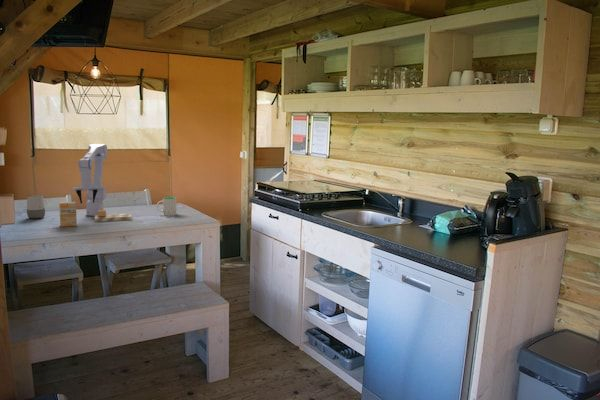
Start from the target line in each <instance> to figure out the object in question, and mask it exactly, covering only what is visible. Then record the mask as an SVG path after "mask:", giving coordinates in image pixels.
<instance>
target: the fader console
mask: <svg viewBox="0 0 600 400" xmlns="http://www.w3.org/2000/svg"><path fill="white" fill-rule="evenodd" d="M132 219H133V218H132V214H131V213H115V214H106V216H98V215H95V216H94V222H95V223H99V222H101V221H102V222H118V221H132ZM102 222H101V223H102Z"/></svg>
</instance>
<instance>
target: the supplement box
mask: <svg viewBox="0 0 600 400" xmlns="http://www.w3.org/2000/svg"><path fill="white" fill-rule="evenodd" d="M58 204H59V205H58V206H59V224H60V227H73V226H74V227H77V226H78V222H77V221H78V219H77V218H78V217H77V202H76V201H59V203H58Z"/></svg>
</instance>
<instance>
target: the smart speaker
mask: <svg viewBox="0 0 600 400" xmlns="http://www.w3.org/2000/svg"><path fill="white" fill-rule="evenodd" d="M45 207H46V205H45V201H44V195H43V194H39V195H33V196H28V197H27V198H26V215H27V217H28V218H29V219H30V220H39V219H43V218H45V216H46V208H45Z"/></svg>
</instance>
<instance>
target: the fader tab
mask: <svg viewBox="0 0 600 400" xmlns="http://www.w3.org/2000/svg"><path fill="white" fill-rule="evenodd" d="M106 213H107V212H106V209H104V210H98V216H106V215H107V214H106Z"/></svg>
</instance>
